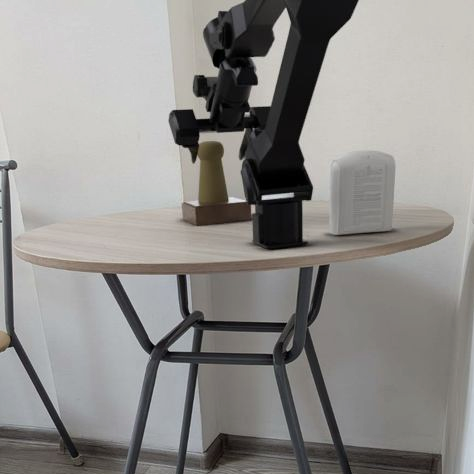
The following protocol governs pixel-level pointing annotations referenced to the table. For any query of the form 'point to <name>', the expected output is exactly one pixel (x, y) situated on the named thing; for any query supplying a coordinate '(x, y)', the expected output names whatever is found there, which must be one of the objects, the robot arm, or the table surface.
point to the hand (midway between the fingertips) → (216, 160)
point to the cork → (211, 173)
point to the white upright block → (362, 192)
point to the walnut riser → (216, 211)
